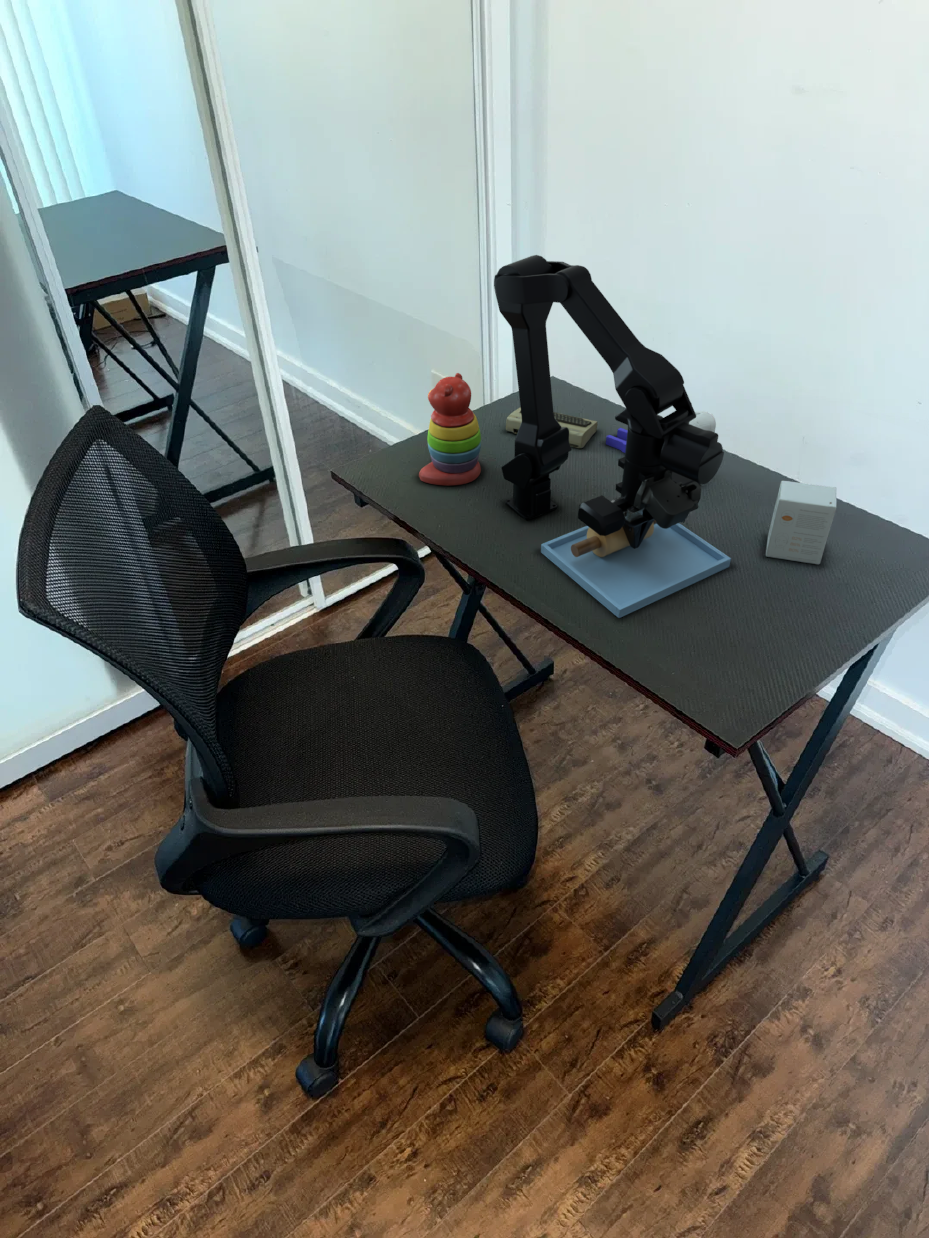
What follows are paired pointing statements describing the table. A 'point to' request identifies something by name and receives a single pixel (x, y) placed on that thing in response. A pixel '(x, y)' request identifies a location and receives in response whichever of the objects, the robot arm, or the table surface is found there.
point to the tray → (638, 567)
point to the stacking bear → (452, 435)
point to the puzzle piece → (618, 440)
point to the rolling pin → (604, 542)
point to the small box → (801, 522)
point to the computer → (577, 426)
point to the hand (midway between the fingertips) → (634, 547)
